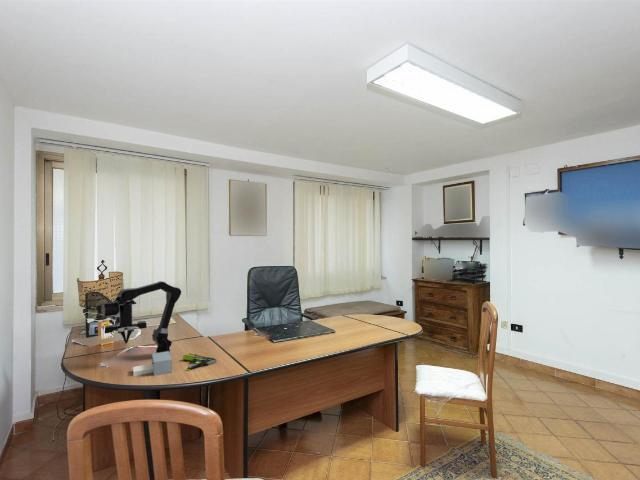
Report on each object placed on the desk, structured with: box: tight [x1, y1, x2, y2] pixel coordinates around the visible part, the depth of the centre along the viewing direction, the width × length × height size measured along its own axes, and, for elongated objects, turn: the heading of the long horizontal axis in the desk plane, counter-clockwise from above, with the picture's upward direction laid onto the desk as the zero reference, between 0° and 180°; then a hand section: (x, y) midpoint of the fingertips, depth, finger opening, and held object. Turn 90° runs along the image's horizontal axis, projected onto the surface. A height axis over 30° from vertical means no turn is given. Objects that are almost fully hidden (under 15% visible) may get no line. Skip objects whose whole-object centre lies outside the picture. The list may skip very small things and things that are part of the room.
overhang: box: [151, 351, 173, 376], centre depth 169 cm, size 8×14×6 cm, turn 30°
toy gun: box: [182, 353, 218, 371], centre depth 175 cm, size 20×4×15 cm
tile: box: [132, 363, 154, 377], centre depth 167 cm, size 14×7×2 cm, turn 121°
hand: (126, 343), depth 174 cm, fingers closed
